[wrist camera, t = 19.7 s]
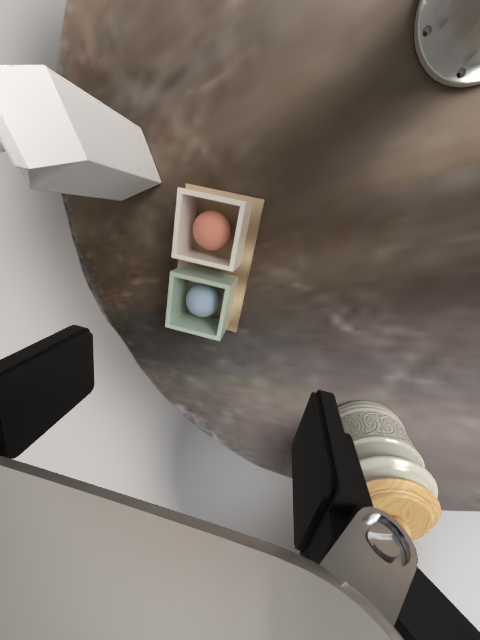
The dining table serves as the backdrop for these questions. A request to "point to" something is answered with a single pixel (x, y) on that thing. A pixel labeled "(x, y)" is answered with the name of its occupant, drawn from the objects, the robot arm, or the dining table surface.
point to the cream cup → (184, 235)
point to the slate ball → (202, 300)
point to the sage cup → (177, 301)
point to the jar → (392, 467)
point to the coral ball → (211, 230)
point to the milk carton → (70, 137)
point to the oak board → (229, 246)
